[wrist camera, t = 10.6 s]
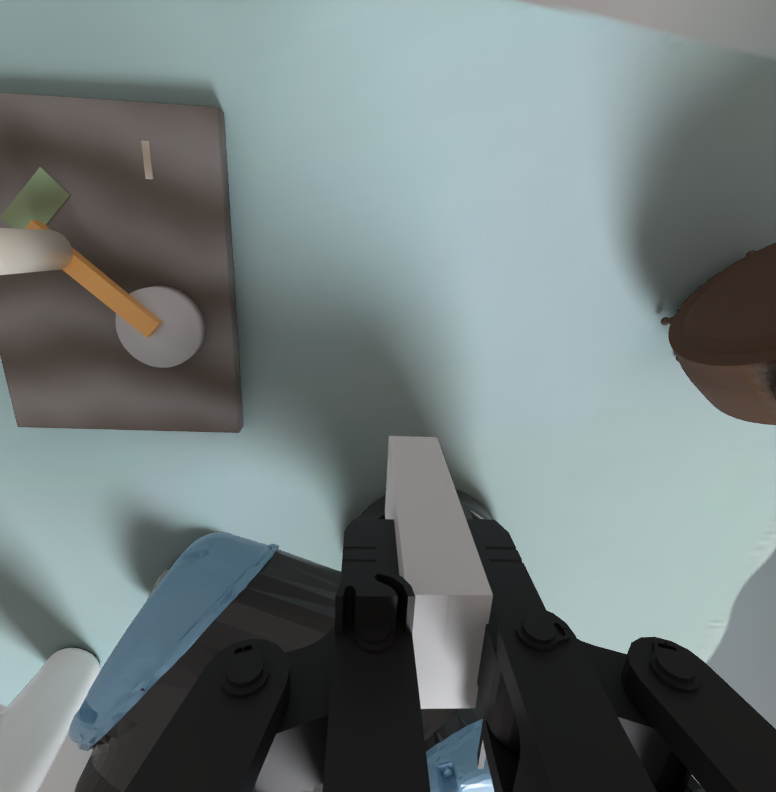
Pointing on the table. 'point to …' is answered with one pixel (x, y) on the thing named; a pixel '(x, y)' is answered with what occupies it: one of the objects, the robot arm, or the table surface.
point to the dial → (112, 296)
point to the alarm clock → (732, 338)
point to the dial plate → (117, 261)
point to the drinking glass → (43, 718)
